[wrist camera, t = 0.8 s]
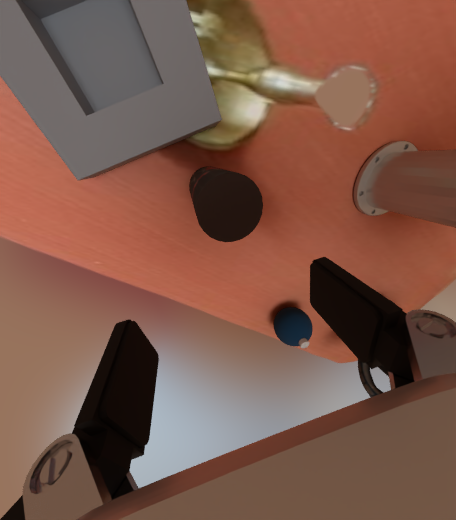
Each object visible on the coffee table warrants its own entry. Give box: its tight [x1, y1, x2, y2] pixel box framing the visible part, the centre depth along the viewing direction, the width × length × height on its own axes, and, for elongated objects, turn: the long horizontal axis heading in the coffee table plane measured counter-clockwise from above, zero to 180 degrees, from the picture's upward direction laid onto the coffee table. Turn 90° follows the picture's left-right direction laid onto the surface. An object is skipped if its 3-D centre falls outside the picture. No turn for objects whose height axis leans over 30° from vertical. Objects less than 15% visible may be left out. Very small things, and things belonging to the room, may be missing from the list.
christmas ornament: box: [274, 307, 312, 348], centre depth 42 cm, size 8×8×10 cm
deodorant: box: [189, 167, 263, 242], centre depth 23 cm, size 6×6×15 cm
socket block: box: [0, 0, 222, 180], centre depth 19 cm, size 18×18×4 cm
